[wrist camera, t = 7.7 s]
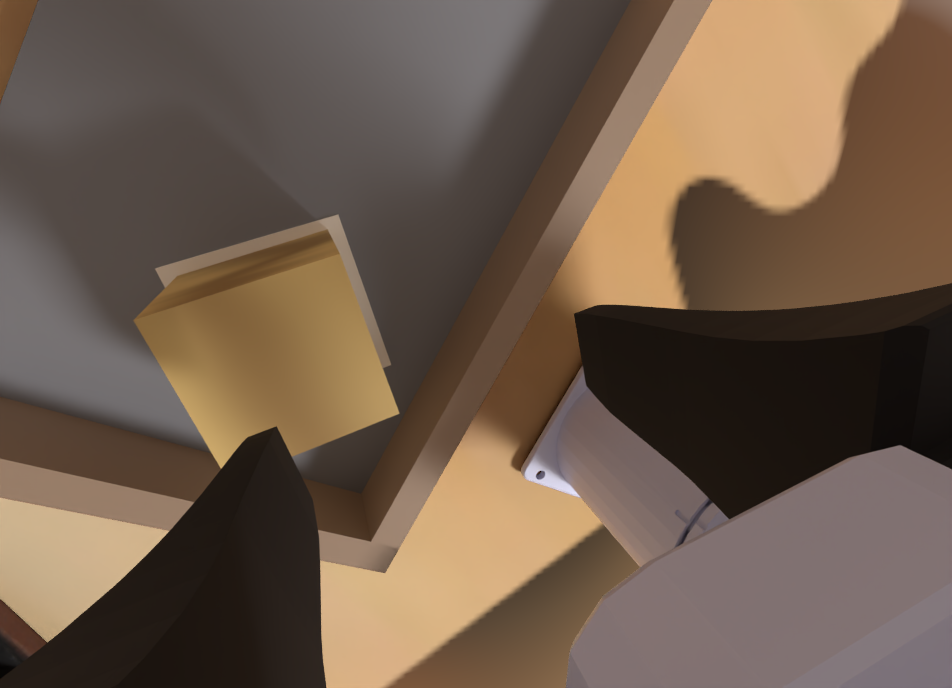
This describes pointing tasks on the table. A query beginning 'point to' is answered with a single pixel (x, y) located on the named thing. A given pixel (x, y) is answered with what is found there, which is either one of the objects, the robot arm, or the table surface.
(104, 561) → the table surface
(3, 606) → the letter holder
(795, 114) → the table surface
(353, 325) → the ochre block
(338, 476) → the arena
